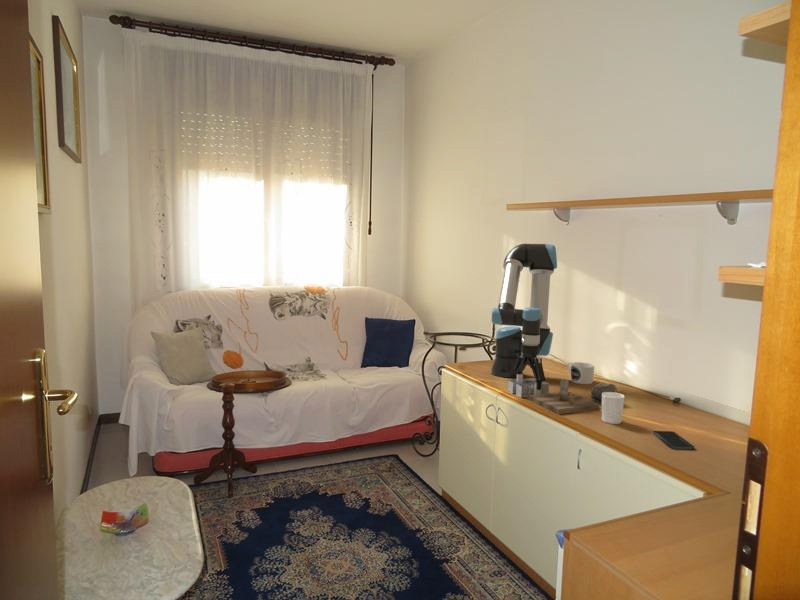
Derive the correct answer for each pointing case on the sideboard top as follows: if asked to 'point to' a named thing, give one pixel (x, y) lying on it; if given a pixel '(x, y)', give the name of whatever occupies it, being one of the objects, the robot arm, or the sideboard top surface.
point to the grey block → (526, 387)
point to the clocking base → (564, 401)
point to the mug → (581, 372)
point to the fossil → (601, 391)
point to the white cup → (612, 407)
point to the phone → (673, 440)
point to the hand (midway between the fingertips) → (527, 392)
